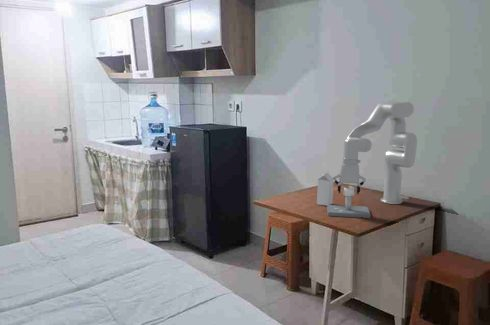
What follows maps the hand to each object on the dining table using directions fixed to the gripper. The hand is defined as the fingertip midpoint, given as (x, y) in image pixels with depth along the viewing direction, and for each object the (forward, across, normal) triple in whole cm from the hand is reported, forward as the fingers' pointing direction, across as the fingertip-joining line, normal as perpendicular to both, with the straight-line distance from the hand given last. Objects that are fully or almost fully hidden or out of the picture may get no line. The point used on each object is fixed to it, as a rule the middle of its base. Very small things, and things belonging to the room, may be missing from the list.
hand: (348, 193), depth 232 cm
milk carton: (+11, +12, -16) cm, 23 cm away
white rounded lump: (+1, 0, 0) cm, 1 cm away
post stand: (+11, 0, 0) cm, 11 cm away
